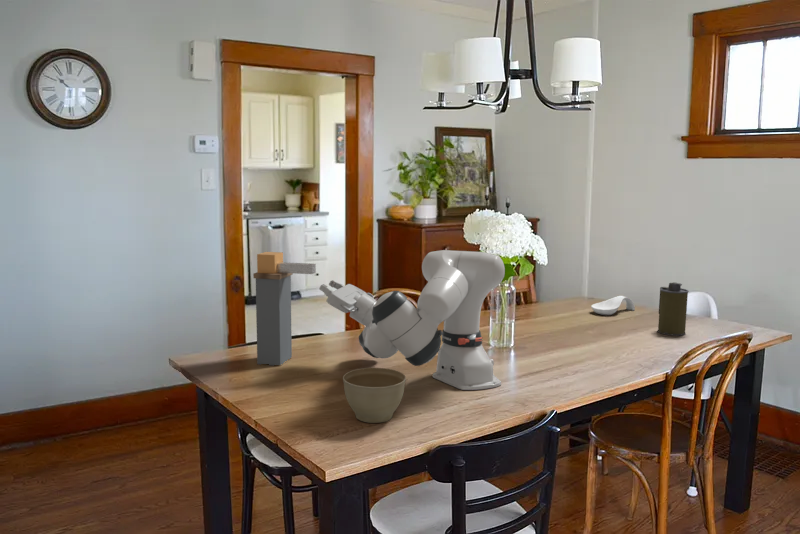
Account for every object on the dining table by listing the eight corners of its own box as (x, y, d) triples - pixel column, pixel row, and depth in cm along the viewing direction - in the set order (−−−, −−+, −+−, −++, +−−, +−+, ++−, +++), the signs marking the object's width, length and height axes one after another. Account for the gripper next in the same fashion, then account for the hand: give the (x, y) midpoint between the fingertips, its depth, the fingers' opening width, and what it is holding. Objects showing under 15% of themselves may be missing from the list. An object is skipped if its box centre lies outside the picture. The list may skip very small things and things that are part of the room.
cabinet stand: (293, 357, 234) (292, 269, 230) (281, 366, 223) (279, 274, 219) (268, 355, 236) (267, 268, 231) (255, 364, 225) (253, 273, 221)
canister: (691, 333, 274) (694, 283, 271) (675, 337, 268) (678, 286, 265) (666, 328, 282) (670, 279, 280) (651, 331, 277) (654, 282, 274)
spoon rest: (606, 318, 301) (606, 302, 300) (585, 313, 311) (586, 297, 310) (641, 312, 314) (642, 296, 313) (620, 308, 324) (620, 292, 323)
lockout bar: (317, 272, 226) (317, 253, 225) (310, 275, 219) (310, 256, 218) (266, 269, 229) (265, 251, 229) (257, 272, 223) (257, 254, 222)
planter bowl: (332, 423, 174) (332, 381, 173) (358, 403, 189) (358, 364, 188) (391, 432, 169) (391, 389, 167) (413, 411, 184) (414, 371, 182)
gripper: (347, 321, 211) (309, 297, 212) (365, 309, 231) (330, 287, 232) (357, 304, 209) (319, 280, 211) (374, 294, 229) (339, 272, 231)
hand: (325, 284), depth 222 cm, fingers open, 8 cm apart
